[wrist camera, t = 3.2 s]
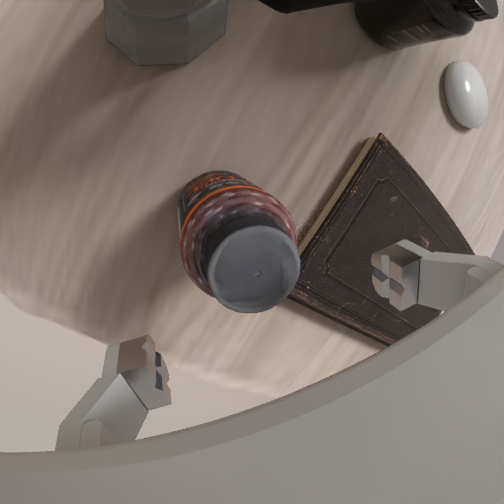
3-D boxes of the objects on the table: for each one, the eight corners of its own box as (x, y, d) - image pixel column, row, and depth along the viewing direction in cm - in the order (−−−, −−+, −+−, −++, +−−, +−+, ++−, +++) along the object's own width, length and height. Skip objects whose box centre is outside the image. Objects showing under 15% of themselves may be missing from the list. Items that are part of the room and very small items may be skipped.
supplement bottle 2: (416, 26, 20) (510, 9, 9) (392, 63, 21) (499, 51, 11) (370, -23, 17) (459, -62, 7) (339, 11, 18) (439, -35, 8)
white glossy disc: (474, 64, 23) (481, 64, 22) (483, 125, 26) (490, 126, 25) (437, 59, 22) (445, 58, 21) (449, 129, 25) (457, 130, 24)
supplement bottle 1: (238, 156, 21) (303, 176, 11) (265, 226, 24) (337, 296, 14) (163, 189, 21) (157, 242, 11) (196, 258, 23) (221, 352, 13)
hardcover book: (366, 131, 24) (382, 133, 22) (464, 249, 33) (476, 255, 31) (266, 281, 27) (275, 294, 24) (398, 347, 36) (407, 356, 34)
